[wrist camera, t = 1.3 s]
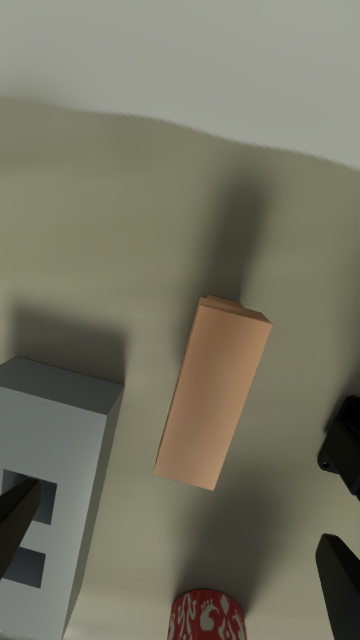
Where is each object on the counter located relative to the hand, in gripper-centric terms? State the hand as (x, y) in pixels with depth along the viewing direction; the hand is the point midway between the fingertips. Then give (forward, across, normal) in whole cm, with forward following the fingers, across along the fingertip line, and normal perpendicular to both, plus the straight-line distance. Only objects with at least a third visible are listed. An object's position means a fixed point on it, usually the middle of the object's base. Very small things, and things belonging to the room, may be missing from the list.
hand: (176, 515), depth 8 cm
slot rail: (+12, +11, +14) cm, 22 cm away
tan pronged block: (+12, -1, 0) cm, 12 cm away
